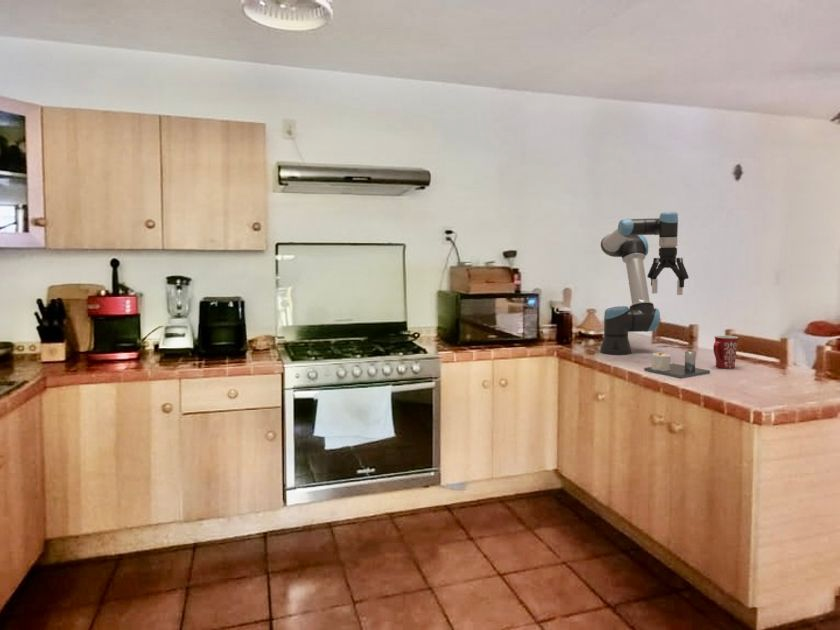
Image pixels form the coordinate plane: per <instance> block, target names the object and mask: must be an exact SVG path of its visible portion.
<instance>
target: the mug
mask: <svg viewBox="0 0 840 630" xmlns="http://www.w3.org/2000/svg"><path fill="white" fill-rule="evenodd" d="M738 341H739V337H738V336H734V335H721V334H720V335H715V336H714V343H713V348H712V349H713V354H714V357H715V367H716V368H719V369H720V368H721V369H734V368H735V366H736V358H737V357H736V356H737V348H738Z"/></svg>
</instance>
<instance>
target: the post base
mask: <svg viewBox="0 0 840 630" xmlns="http://www.w3.org/2000/svg"><path fill="white" fill-rule="evenodd" d="M696 355H697V352H696V351H694V350H685V351H684V365H683V364H678V363H670V369H669V370H655V369H652V366H649V367H644V372H648V373H654V374H657V375H658V374H659V375H663V376H666V377H667V376H668V377H671V378H677V379H685V378H692V377H697V375H698V376H703V374H704V375H710V374H711V370H709V369H703V368H698V367H696V360H697V359H696Z"/></svg>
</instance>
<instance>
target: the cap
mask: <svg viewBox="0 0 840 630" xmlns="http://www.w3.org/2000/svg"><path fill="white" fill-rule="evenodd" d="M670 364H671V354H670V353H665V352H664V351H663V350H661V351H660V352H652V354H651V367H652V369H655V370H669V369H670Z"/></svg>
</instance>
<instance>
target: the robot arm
mask: <svg viewBox="0 0 840 630" xmlns="http://www.w3.org/2000/svg"><path fill="white" fill-rule="evenodd" d="M678 216H679V213H677V212H675V211H671V212H670V211H669V212H661V213H660V214H659V218H626V219H625V218H623V219H621V220H619V222H618V225H617V228H616V229H615V230H614V231H613V232H612V233H608V234H606V235H605V236H604V237H603V238H602V239H601V241H600V248H601V251H602V252H603V253H604V254H605V255H607V256H609V257H614V258H621V260H622V262H623V263H624V264H625V266H626V274H627V279H628V286H629V292H630V298H631V305H630V306H628V305H625V306H624V305H621V306H619V305H618V306H612V307H609V308H606V309H604V315H603V319H604V320H603V340H602V343H601V346H600V349H599V351H600V353H602V354H605V355H606V354H607V355H617V356H618V355H630V354H632V347H631V344H630V340H629V333H630V332H631V333H632V332H637V333H640V332H645V333H648V332H654V331H656V330H657V329H658V327H659V325H660V321H661V320H660V319H661V314H660V310H659V309H658V308H657V307H655V305H654V303H653V302H651V300H650V294H649V289H648V283H647V278H649V279H650V286H651V294H658V283H659V281H658V276H659V275H660V274H661V272H662V271H663V270H664V269H671V270H672V272H673V273H674V274H675V276H676V277H677V278H678V280H676V296H683V295H684V294H683V290H684V289H683V288H684V287H685V280H687V279H689V274H688V272H687V269H686V266H685V265H684V260H683V257H677V256H678V248H677V247H678V234H679V233H678V229H679V228H678V227H679V217H678ZM651 235H652V236H653V235H654V236H659V238H658V246H659V248H658V256H659V257H653V261H652V264H651V266H650V268H649V271H648V273H647V277H646V271H645V265H644V263H645V262H644V260H645V259H646V257H647V256H648V253H649V243H648V239H647V237H646V236H651Z"/></svg>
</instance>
